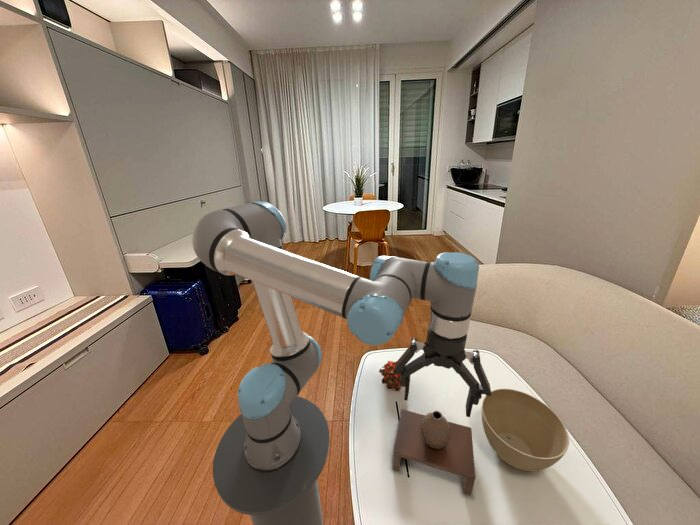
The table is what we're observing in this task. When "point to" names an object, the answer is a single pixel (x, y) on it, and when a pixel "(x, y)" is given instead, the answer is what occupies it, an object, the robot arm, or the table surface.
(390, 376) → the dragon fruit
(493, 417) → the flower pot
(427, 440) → the vase
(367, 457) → the table surface
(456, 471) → the shelf
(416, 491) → the table surface
